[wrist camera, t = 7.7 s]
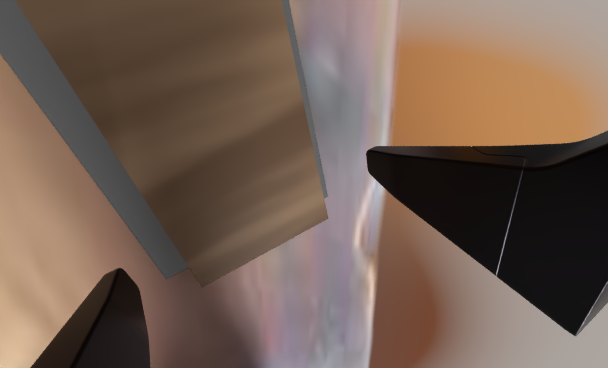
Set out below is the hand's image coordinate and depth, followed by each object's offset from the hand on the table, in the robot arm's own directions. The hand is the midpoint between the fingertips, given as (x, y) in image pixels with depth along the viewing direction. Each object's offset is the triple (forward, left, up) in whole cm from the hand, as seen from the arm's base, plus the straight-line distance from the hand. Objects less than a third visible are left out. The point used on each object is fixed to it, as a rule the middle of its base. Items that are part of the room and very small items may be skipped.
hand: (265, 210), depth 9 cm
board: (-4, +2, -4) cm, 6 cm away
